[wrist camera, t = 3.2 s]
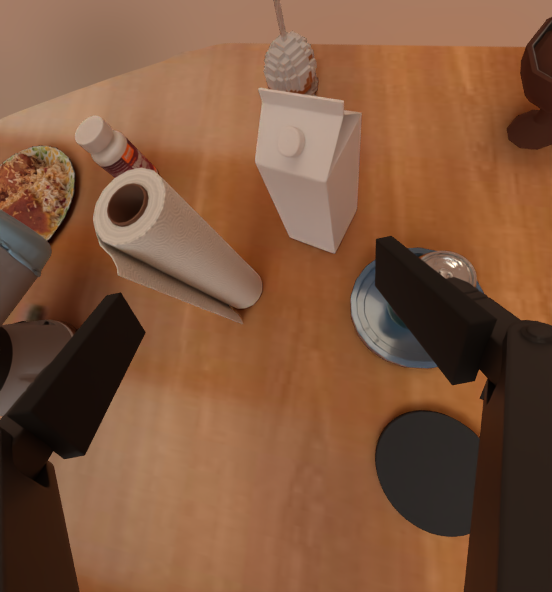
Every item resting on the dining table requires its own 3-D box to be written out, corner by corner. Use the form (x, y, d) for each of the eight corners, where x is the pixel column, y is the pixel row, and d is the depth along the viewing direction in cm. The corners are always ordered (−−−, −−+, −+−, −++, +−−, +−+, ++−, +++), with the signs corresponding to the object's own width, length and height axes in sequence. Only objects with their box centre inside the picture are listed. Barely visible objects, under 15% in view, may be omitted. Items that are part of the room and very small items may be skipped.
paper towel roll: (239, 262, 39) (124, 154, 19) (271, 281, 37) (180, 182, 17) (212, 303, 39) (65, 235, 19) (243, 324, 37) (115, 274, 17)
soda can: (438, 294, 31) (490, 254, 19) (427, 336, 30) (474, 318, 19) (393, 283, 32) (416, 239, 21) (381, 322, 32) (399, 298, 20)
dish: (401, 391, 30) (406, 394, 27) (329, 299, 34) (327, 293, 32) (504, 322, 29) (520, 317, 26) (416, 237, 33) (421, 225, 31)
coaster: (426, 555, 26) (428, 560, 25) (353, 445, 29) (354, 447, 29) (524, 494, 25) (530, 498, 24) (437, 389, 29) (439, 390, 28)
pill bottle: (161, 187, 47) (106, 136, 37) (132, 200, 48) (71, 154, 38) (157, 161, 49) (105, 105, 39) (130, 174, 50) (71, 123, 40)
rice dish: (106, 191, 52) (81, 171, 47) (5, 296, 51) (-32, 287, 45) (48, 137, 62) (22, 116, 57) (-37, 223, 61) (-72, 209, 56)
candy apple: (328, 87, 43) (317, -48, 29) (291, 119, 43) (264, 1, 29) (297, 67, 46) (275, -64, 32) (264, 98, 46) (226, -19, 32)
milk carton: (311, 196, 39) (279, 53, 21) (357, 210, 36) (365, 61, 19) (289, 237, 38) (237, 125, 20) (335, 254, 36) (320, 144, 18)
